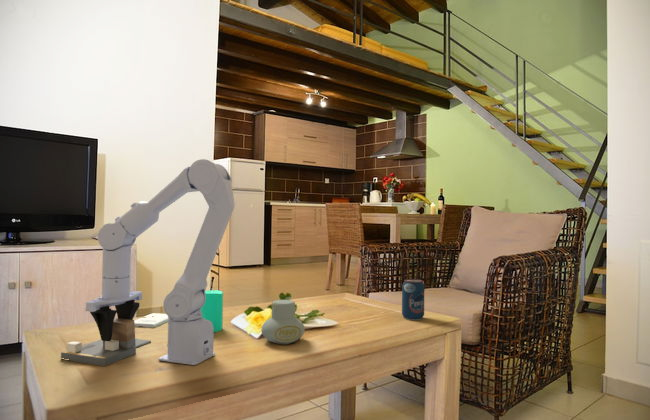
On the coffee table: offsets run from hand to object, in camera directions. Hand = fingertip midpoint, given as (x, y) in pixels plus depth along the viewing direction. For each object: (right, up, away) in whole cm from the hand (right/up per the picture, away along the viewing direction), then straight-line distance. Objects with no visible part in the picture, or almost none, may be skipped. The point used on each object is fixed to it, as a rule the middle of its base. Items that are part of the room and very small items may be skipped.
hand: (115, 337), depth 99 cm
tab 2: (0, -2, -1) cm, 3 cm away
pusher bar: (0, -2, +1) cm, 3 cm away
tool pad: (-3, -4, +9) cm, 10 cm away
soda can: (+75, -6, +40) cm, 85 cm away
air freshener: (+37, -5, +13) cm, 39 cm away
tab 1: (-8, -2, -3) cm, 8 cm away
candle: (+16, -5, +23) cm, 28 cm away
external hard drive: (-4, -5, +31) cm, 32 cm away
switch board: (-3, -4, -1) cm, 5 cm away
